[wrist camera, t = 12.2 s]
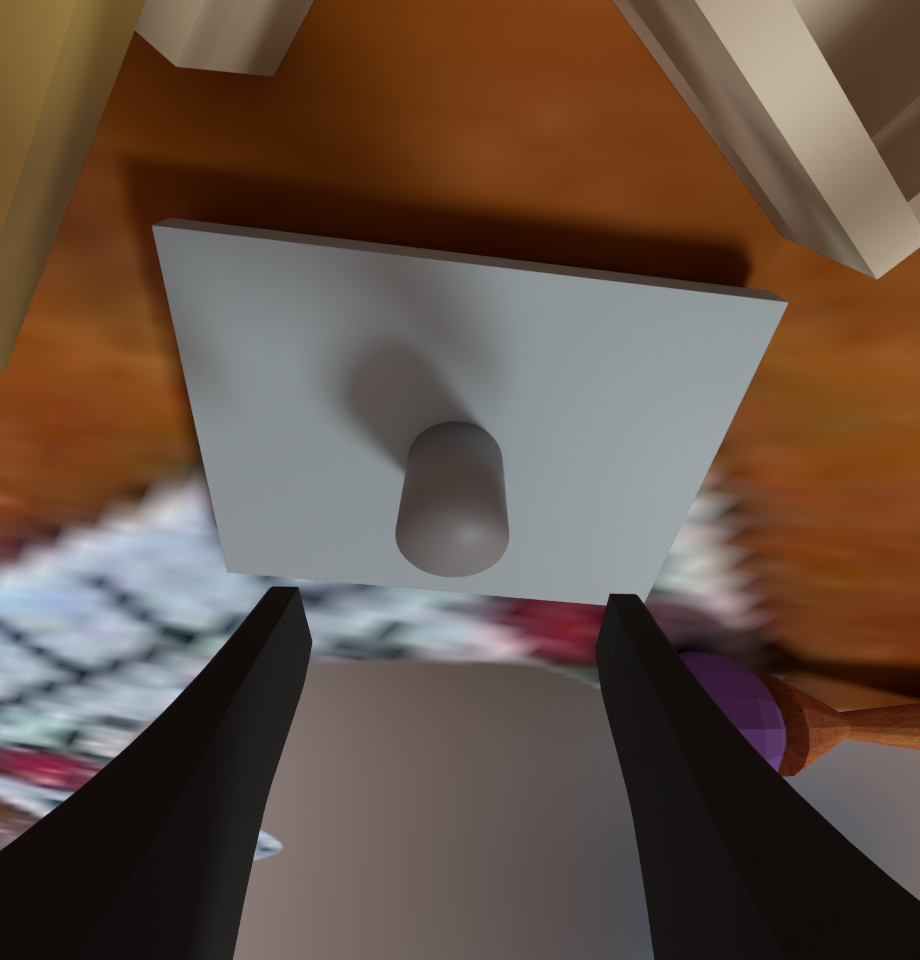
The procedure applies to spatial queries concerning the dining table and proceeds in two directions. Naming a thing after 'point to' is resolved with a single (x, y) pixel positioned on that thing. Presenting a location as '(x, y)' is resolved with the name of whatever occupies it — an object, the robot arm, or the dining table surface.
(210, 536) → the dining table surface
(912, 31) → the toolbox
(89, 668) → the dining table surface
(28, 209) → the yellow rectangular block
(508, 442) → the lid
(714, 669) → the kendama
